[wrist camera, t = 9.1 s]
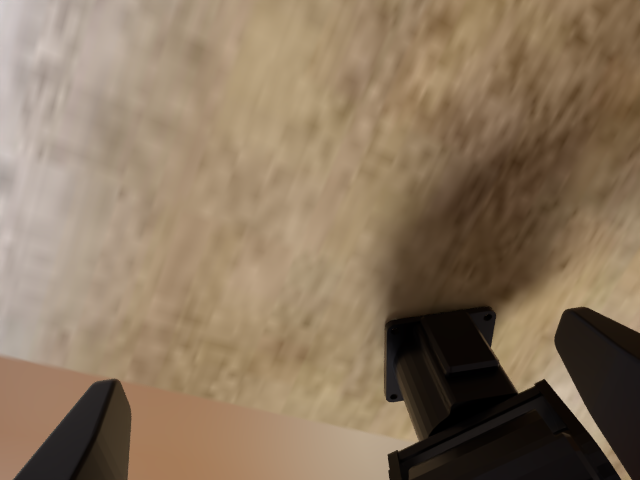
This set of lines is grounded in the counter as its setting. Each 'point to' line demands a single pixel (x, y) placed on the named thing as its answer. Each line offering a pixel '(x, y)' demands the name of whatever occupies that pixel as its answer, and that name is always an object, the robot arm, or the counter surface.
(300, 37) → the counter surface
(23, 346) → the counter surface
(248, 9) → the counter surface
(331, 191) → the counter surface
